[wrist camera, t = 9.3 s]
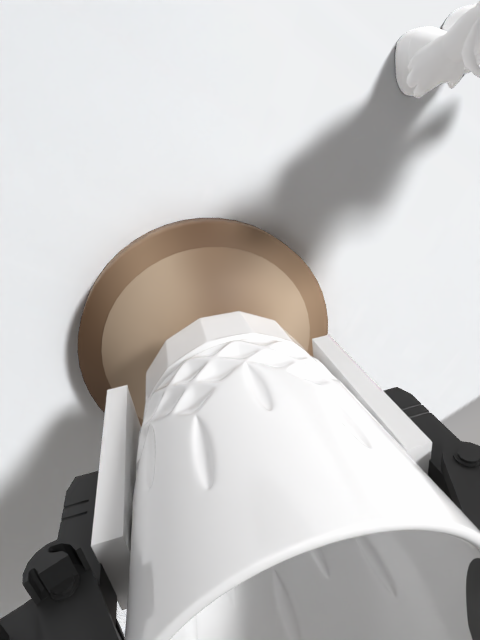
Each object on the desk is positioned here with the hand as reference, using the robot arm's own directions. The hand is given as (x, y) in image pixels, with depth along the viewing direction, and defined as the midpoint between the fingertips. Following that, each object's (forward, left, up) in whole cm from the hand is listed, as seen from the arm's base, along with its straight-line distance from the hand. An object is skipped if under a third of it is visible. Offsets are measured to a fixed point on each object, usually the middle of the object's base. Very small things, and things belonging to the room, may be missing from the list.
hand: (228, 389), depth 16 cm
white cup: (0, 0, 0) cm, 0 cm away
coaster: (0, 0, -5) cm, 5 cm away
